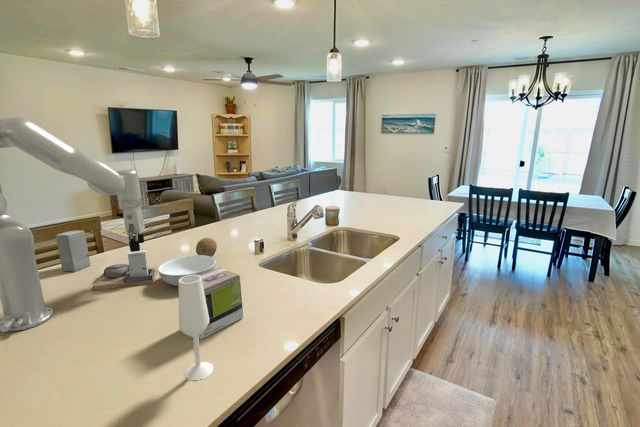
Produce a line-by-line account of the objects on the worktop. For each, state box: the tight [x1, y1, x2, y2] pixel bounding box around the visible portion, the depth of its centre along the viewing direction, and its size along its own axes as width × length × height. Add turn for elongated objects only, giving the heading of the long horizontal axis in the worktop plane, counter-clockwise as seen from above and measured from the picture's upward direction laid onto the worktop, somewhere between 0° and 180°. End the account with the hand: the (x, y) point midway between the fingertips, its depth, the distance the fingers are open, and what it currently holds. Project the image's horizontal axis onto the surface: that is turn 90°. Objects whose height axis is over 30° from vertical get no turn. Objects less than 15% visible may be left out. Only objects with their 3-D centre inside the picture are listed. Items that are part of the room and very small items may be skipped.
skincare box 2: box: [127, 248, 149, 277], centre depth 130 cm, size 6×4×12 cm
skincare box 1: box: [55, 230, 91, 273], centre depth 142 cm, size 8×7×16 cm
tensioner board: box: [92, 263, 159, 291], centre depth 132 cm, size 14×20×5 cm
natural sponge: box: [195, 237, 218, 257], centre depth 153 cm, size 9×9×10 cm
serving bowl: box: [157, 254, 217, 287], centre depth 131 cm, size 21×21×7 cm
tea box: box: [177, 267, 244, 340], centre depth 100 cm, size 15×10×15 cm
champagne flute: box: [178, 275, 214, 381], centre depth 78 cm, size 7×7×24 cm
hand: (137, 246), depth 129 cm, fingers open, 9 cm apart
